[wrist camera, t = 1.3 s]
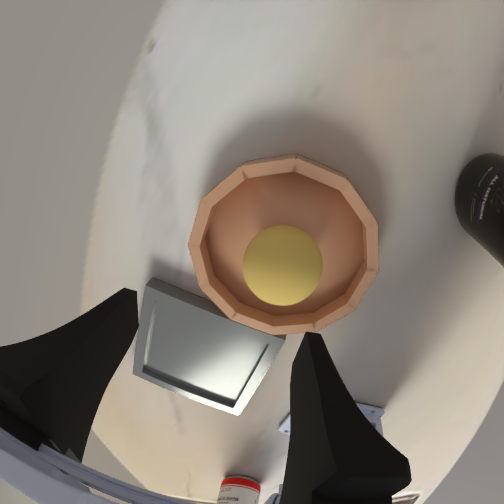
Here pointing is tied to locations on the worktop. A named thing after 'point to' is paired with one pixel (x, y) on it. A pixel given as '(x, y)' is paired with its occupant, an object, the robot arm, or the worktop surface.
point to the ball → (282, 265)
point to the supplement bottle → (483, 202)
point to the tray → (200, 349)
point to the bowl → (293, 214)
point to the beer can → (239, 490)
